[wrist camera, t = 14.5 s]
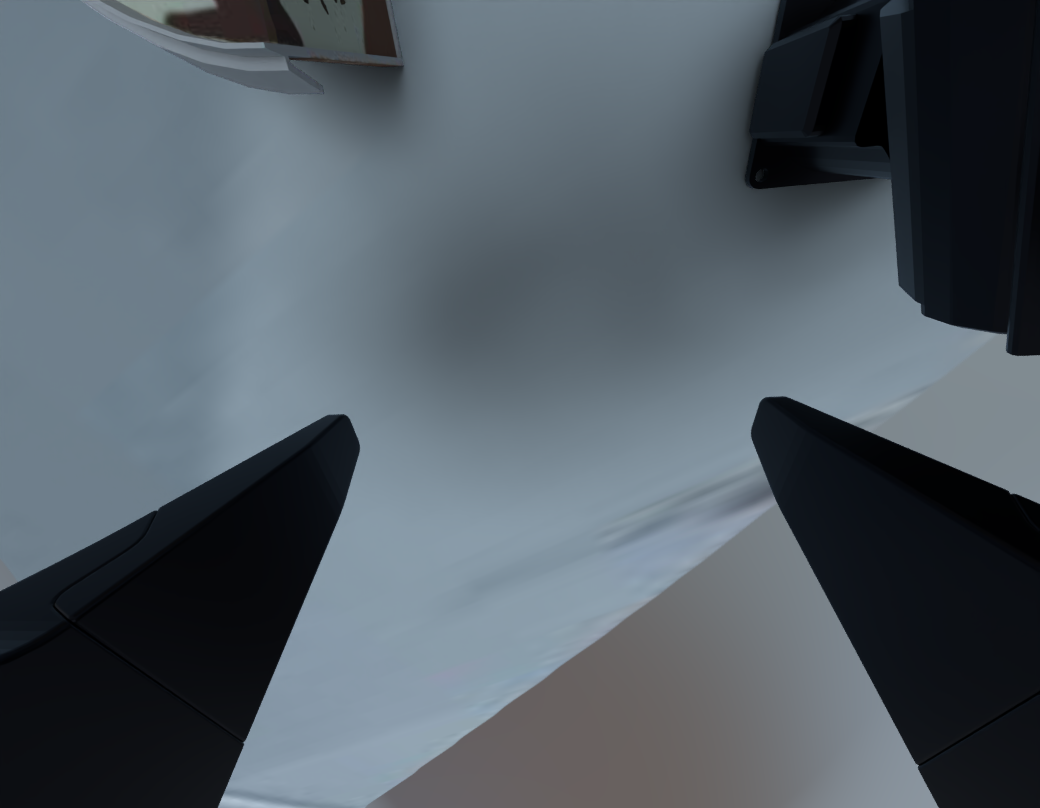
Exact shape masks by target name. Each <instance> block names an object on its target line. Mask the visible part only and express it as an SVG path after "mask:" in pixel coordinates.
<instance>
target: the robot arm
mask: <svg viewBox="0 0 1040 808" xmlns="http://www.w3.org/2000/svg"><path fill="white" fill-rule="evenodd" d="M749 133H750V134H751V136H752V137H753V141H752V146H751V151H750V156H749V161H748V166H747V171H746V175H745V182H746V184H747V185H748V186H749V187H750V188H755V189H764V188H775V187H785V186H796V185H807V184H818V183H829V182H839V181H850V180H861V179H872V178H883V179H891V182H892V196H893V210H894V224H895V238H896V252H897V266H898V280H899V286H900V287H901V288H902V289H903V290H904V291H905V292H906V293H907V294H908V295H909V296H910V297H911V298H913V299H914V300H915V301H916V302H918V303H920V304H921V313H922V314H923V315H924V316H926V317H929V318H932V319H935V320H938V321H941V322H944V323H947V324H950V325H954V326H957V327H961V328H967V329H973V330H979V331H985V332H991V333H997V334H1007V343H1006V351H1007V353H1009V354H1012V355H1016V356H1029V355H1040V0H781V4H780V9H779V14H778V19H777V24H776V29H775V34H774V39H773V43H772V45H771V46H770V48H769V49H768V50H767V51H766V52H765V54H764V59H763V64H762V69H761V74H760V79H759V84H758V89H757V94H756V99H755V104H754V109H753V114H752V119H751V124H750V129H749ZM760 169H763V170H764V175H763V177H762V179H760V180H759V181H756V174H757V172H758V171H759V170H760ZM751 437H752V441H753V444H754V446H755V449H756V451H757V454H758V456H759V459H760V462H761V464H762V467H763V469H764V472H765V474H766V477H767V480H768V482H769V485H770V487H771V490H772V492H773V495H774V497H775V499H776V501H777V503H778V505H779V507H780V509H781V511H782V513H783V515H784V517H785V519H786V521H787V523H788V525H789V526H790V528H791V530H792V532H793V534H794V536H795V538H796V540H797V541H798V543H799V545H800V547H801V549H802V551H803V553H804V555H805V556H806V558H807V560H808V562H809V564H810V566H811V568H812V570H813V572H814V574H815V575H816V577H817V579H818V581H819V583H820V585H821V587H822V589H823V590H824V592H825V594H826V596H827V598H828V600H829V602H830V604H831V605H832V607H833V609H834V611H835V613H836V615H837V617H838V618H839V620H840V622H841V624H842V626H843V628H844V630H845V632H846V634H847V635H848V637H849V639H850V641H851V643H852V645H853V647H854V648H855V650H856V652H857V654H858V656H859V658H860V660H861V662H862V664H863V666H864V667H865V669H866V671H867V673H868V675H869V677H870V679H871V680H872V682H873V684H874V686H875V688H876V690H877V692H878V694H879V696H880V697H881V699H882V701H883V703H884V705H885V707H886V709H887V711H888V712H889V714H890V716H891V718H892V720H893V722H894V724H895V726H896V728H897V729H898V731H899V733H900V735H901V737H902V739H903V741H904V743H905V744H906V746H907V748H908V750H909V752H910V754H911V756H912V758H913V759H914V761H915V763H916V764H917V765H919V766H918V770H919V771H920V773H921V775H922V777H923V779H924V781H925V783H926V784H927V787H928V788H929V790H930V792H931V794H932V796H933V798H934V800H935V801H936V803H937V805H938V807H939V808H1040V504H1038V503H1036V502H1034V501H1031V500H1029V499H1027V498H1024V497H1022V496H1020V495H1017V494H1010V493H1009V491H1007V490H1005V489H1003V488H1001V487H998V486H996V485H993V484H991V483H989V482H986V481H984V480H981V479H979V478H977V477H974V476H972V475H970V474H968V473H965V472H962V471H960V470H958V469H956V468H953V467H951V466H949V465H946V464H944V463H941V462H939V461H937V460H934V459H932V458H930V457H927V456H925V455H923V454H920V453H918V452H916V451H913V450H911V449H909V448H906V447H904V446H901V445H899V444H897V443H894V442H892V441H890V440H887V439H885V438H883V437H880V436H878V435H876V434H873V433H871V432H868V431H866V430H864V429H861V428H859V427H857V426H854V425H852V424H850V423H847V422H845V421H843V420H840V419H838V418H835V417H833V416H831V415H828V414H826V413H824V412H821V411H819V410H817V409H814V408H812V407H809V406H807V405H805V404H802V403H800V402H798V401H795V400H793V399H791V398H788V397H784V396H780V397H765V398H764V399H762V400H761V402H760V404H759V407H758V410H757V413H756V416H755V419H754V422H753V425H752V429H751ZM359 452H360V444H359V440H358V438H357V436H356V433H355V431H354V428H353V426H352V423H351V421H350V419H349V417H348V416H346V415H344V414H338V415H327V416H325V417H323V418H321V419H319V420H317V421H316V422H314V423H312V424H310V425H308V426H307V427H305V428H303V429H301V430H299V431H298V432H296V433H294V434H292V435H290V436H289V437H287V438H285V439H283V440H281V441H280V442H278V443H276V444H274V445H272V446H270V447H269V448H267V449H265V450H263V451H261V452H260V453H258V454H256V455H254V456H252V457H251V458H249V459H247V460H245V461H243V462H242V463H240V464H238V465H236V466H234V467H232V468H231V469H229V470H227V471H225V472H223V473H222V474H220V475H218V476H216V477H214V478H213V479H211V480H209V481H207V482H205V483H204V484H202V485H200V486H198V487H196V488H195V489H193V490H191V491H189V492H187V493H185V494H184V495H182V496H180V497H178V498H176V499H175V500H173V501H171V502H169V503H167V504H166V505H164V506H162V507H160V508H159V510H158V511H153V512H151V513H149V514H147V515H146V516H144V517H142V518H140V519H138V520H136V521H135V522H133V523H131V524H129V525H127V526H125V527H124V528H122V529H120V530H118V531H116V532H114V533H112V534H111V535H109V536H107V537H105V538H103V539H101V540H100V541H98V542H96V543H94V544H92V545H90V546H88V547H86V548H84V549H82V550H80V551H78V552H76V553H74V554H73V555H71V556H69V557H67V558H65V559H63V560H61V561H59V562H57V563H55V564H53V565H51V566H49V567H47V568H45V569H43V570H41V571H39V572H37V573H35V574H33V575H31V576H29V577H27V578H25V579H23V580H21V581H19V582H17V583H15V584H14V585H11V586H10V587H7V588H6V589H3V590H2V591H0V808H218V806H219V803H220V801H221V798H222V796H223V794H224V791H225V789H226V787H227V784H228V782H229V779H230V777H231V775H232V772H233V770H234V768H235V765H236V763H237V760H238V758H239V756H240V753H241V751H242V749H243V746H244V743H243V742H244V741H245V740H246V738H247V736H248V733H249V731H250V729H251V726H252V724H253V722H254V719H255V717H256V714H257V712H258V710H259V707H260V705H261V703H262V700H263V698H264V695H265V693H266V691H267V688H268V686H269V683H270V681H271V679H272V676H273V674H274V672H275V669H276V667H277V664H278V662H279V660H280V657H281V655H282V653H283V650H284V648H285V645H286V643H287V641H288V638H289V636H290V633H291V631H292V629H293V626H294V624H295V622H296V619H297V617H298V614H299V612H300V610H301V607H302V605H303V603H304V600H305V598H306V595H307V593H308V591H309V588H310V586H311V583H312V581H313V579H314V576H315V574H316V572H317V569H318V567H319V564H320V562H321V560H322V557H323V555H324V553H325V550H326V548H327V545H328V543H329V541H330V538H331V536H332V533H333V531H334V529H335V526H336V524H337V522H338V519H339V517H340V514H341V511H342V509H343V506H344V503H345V500H346V496H347V493H348V489H349V486H350V483H351V479H352V476H353V472H354V469H355V466H356V462H357V459H358V456H359Z"/></svg>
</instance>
